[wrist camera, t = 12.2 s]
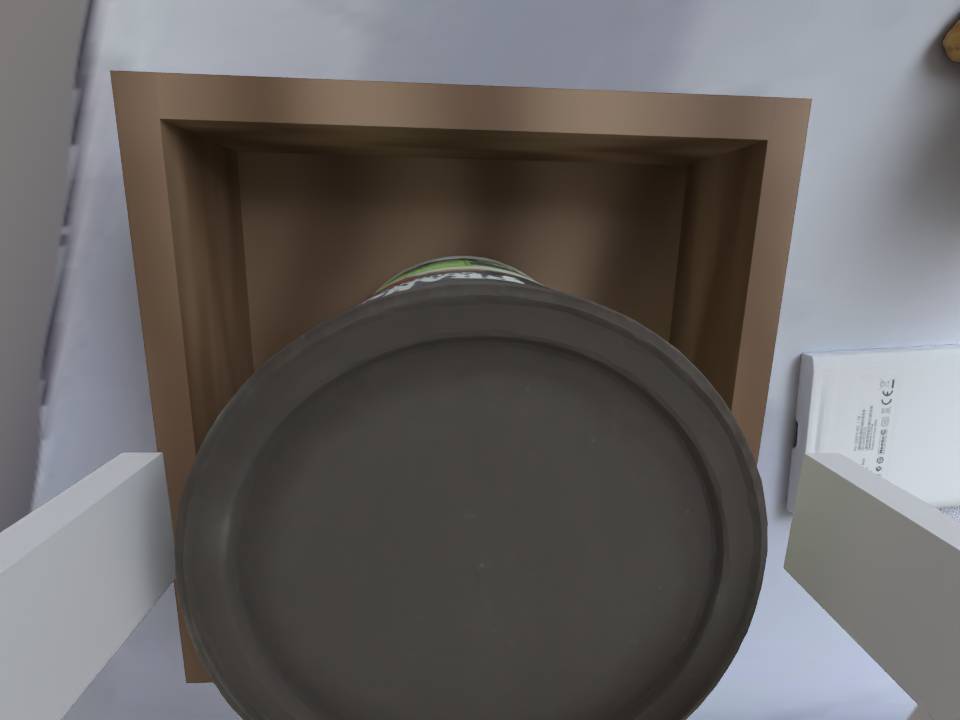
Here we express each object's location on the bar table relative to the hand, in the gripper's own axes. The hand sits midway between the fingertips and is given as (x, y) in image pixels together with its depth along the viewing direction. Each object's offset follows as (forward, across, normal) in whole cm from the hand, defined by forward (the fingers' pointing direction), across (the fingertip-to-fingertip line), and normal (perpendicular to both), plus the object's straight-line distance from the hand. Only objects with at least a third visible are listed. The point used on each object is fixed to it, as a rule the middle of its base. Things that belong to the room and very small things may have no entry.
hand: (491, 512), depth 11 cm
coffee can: (+12, 0, 0) cm, 12 cm away
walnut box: (+13, 0, 0) cm, 13 cm away
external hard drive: (+14, +22, -3) cm, 26 cm away
